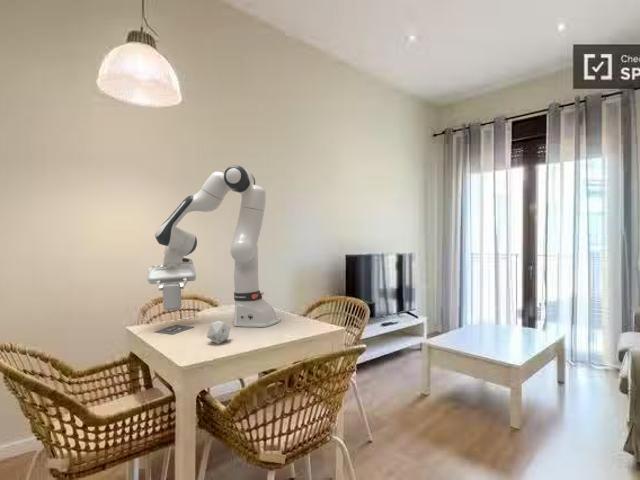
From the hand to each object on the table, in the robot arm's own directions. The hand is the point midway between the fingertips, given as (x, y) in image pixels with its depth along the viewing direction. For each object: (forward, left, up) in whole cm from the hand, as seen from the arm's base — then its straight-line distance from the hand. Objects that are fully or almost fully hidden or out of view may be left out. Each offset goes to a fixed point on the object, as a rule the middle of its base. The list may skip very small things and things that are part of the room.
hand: (171, 288), depth 158 cm
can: (0, 0, -9) cm, 9 cm away
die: (-33, +7, -19) cm, 38 cm away
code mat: (0, 0, -18) cm, 18 cm away
